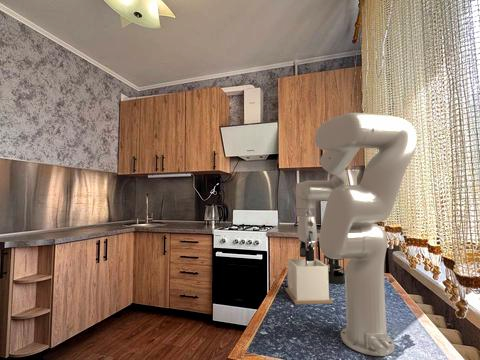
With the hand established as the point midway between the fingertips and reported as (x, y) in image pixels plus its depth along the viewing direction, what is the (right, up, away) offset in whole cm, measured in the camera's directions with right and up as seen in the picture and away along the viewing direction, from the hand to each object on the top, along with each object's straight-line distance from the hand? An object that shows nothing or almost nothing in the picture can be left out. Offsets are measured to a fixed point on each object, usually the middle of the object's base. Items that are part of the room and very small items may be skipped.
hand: (306, 258), depth 99 cm
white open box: (0, -15, -1) cm, 15 cm away
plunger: (0, -11, -1) cm, 11 cm away
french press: (+18, -16, +18) cm, 30 cm away
